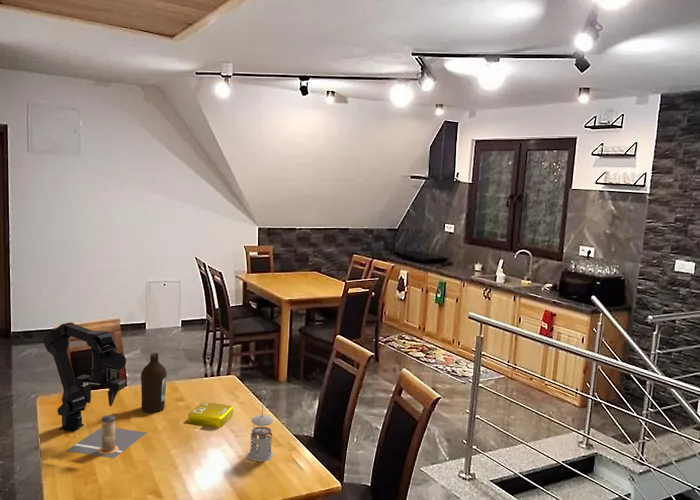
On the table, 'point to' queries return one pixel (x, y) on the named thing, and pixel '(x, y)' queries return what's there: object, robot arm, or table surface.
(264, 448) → the french press
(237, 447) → the table surface
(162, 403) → the olive oil
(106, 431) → the beige cylindrical canister
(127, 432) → the subfloor panel
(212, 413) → the element tile
